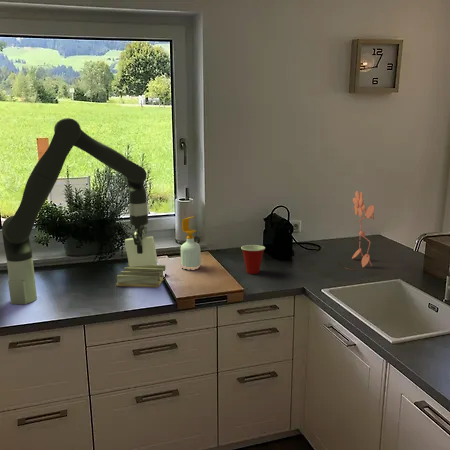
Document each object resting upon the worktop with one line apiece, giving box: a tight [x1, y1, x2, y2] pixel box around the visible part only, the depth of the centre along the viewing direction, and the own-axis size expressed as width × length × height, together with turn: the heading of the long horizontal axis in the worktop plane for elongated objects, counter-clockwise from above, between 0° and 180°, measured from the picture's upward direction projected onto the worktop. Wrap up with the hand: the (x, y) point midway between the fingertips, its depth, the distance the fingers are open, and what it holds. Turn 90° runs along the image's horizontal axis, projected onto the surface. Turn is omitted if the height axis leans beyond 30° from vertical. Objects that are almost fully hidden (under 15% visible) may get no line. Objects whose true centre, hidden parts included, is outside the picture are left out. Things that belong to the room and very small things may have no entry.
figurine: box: [345, 190, 375, 271], centre depth 226 cm, size 15×26×35 cm, turn 5°
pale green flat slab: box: [124, 235, 159, 267], centre depth 208 cm, size 2×12×12 cm, turn 83°
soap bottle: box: [180, 215, 202, 267], centre depth 223 cm, size 9×9×25 cm
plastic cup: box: [240, 244, 266, 275], centre depth 219 cm, size 11×11×12 cm
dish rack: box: [115, 263, 166, 289], centre depth 211 cm, size 16×18×4 cm
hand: (140, 252), depth 208 cm, fingers closed on pale green flat slab, 2 cm apart
